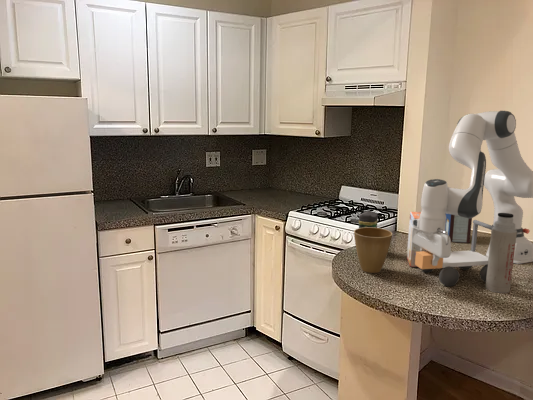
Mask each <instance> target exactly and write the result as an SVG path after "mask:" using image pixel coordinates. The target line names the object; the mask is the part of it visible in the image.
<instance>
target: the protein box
mask: <svg viewBox="0 0 533 400" xmlns="http://www.w3.org/2000/svg"><path fill="white" fill-rule="evenodd" d="M445 214H446V213H445ZM472 223H473V218H471V219H469V218H465V217H461V216H457V215H451V214H446V225H445V231H447V233H448V235H449V237H450V240H451V243H464V244H470V243H471V236H472V235H471V233H472V225H473V224H472Z"/></svg>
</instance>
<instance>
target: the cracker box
mask: <svg viewBox="0 0 533 400" xmlns="http://www.w3.org/2000/svg"><path fill="white" fill-rule="evenodd" d="M409 213H410V214H409V223H408V236H407V237H408V238H407V245H406V246H407V248H406V259H407V263H408V265H409V267H412V268H414V267H415V268H419V267H418V266H416V265H415V257H416V252H419V251H420V246H418V245H416V244H414V243H413V241H412V228H413V226H414V225H412V220H413V219H420V214H421V211H410V212H409Z"/></svg>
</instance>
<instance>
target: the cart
mask: <svg viewBox="0 0 533 400" xmlns="http://www.w3.org/2000/svg"><path fill="white" fill-rule="evenodd" d="M472 223H473V224H472V225H473V227H472V235H471V245H470V246H471V247H470V250H455V251H454V250H453V251H452V250H451V255H450V256H449V257H448V258H443V267H442V268H441V270H440V271H439V275H438V279H439V282H440V283H441V284H443V285H444V286H446V287H453V286H455V285H456V284H457V283H458V282H459V280H460V272H459V271H458V270H457V269H456V268H457V267H458V269H460V270H463V271H468V270H471V269H472V267H474V266H482V268H481V269H480V272H479V278H480V280H481V281H482V282H484V283H486V277H487V268H488V259H489V257H488V256H486V254H485V255H484V254H482V253H480V252H478V251H476V248H477V247H476V246H477V241H478V239H477V238H478V228H479V227H482V228H484V229H488V230H490V231H491V230H492V227H494V226H492V225H493V224H492V225H491V224H489V223H485V222H484V221H480V220H477V219H474V220H473V219H472ZM419 270H421V271H422V272H423V273H431V272H433V271H434V270H435V269H421V268H419Z"/></svg>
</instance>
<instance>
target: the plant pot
mask: <svg viewBox="0 0 533 400" xmlns="http://www.w3.org/2000/svg"><path fill="white" fill-rule="evenodd" d="M353 236H354V242H355V250H356V254H357V259H358V261H359V262H358V263H359V266H360V268H361V270H362V271H363V272H365V273H369V274H370V273H371V274H374V273H375V274H376V273H380V272H381V270H382V268H383V266H384V264H385V262H386V259H387V257H388V252H389V251H390V246H391V242H392V239H393V232H392V231H390V230H388V229H386V228H385V229H384V228H380V227H377V228H373V227H365V228H359V227H358V228H356V229H354V230H353Z"/></svg>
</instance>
